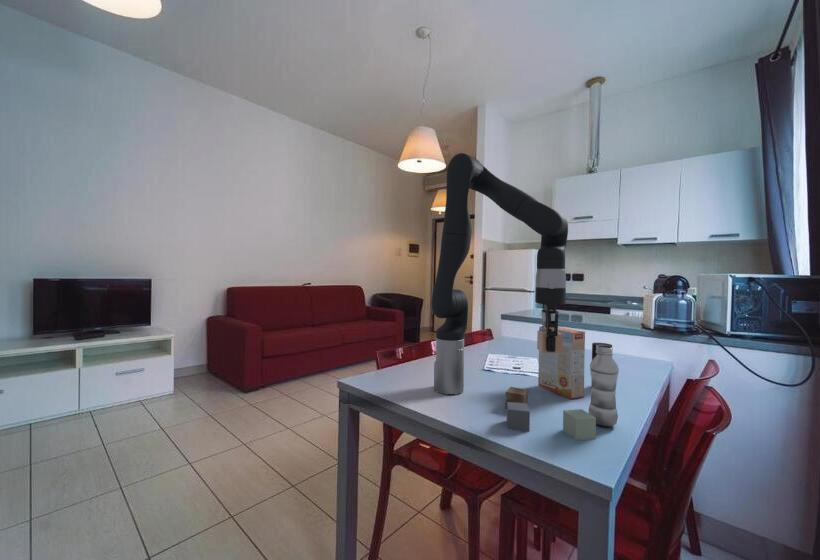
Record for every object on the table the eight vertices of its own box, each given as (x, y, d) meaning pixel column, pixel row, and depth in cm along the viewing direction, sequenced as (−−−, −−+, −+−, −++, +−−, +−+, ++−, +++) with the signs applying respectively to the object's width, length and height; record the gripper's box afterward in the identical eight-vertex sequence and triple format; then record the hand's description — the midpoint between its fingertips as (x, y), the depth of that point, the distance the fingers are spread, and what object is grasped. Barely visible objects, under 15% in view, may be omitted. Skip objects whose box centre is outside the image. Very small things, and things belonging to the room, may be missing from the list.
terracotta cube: (542, 352, 86) (542, 333, 86) (537, 348, 91) (537, 330, 91) (562, 353, 85) (562, 334, 85) (556, 349, 90) (556, 331, 90)
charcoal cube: (508, 429, 81) (508, 409, 81) (506, 420, 86) (507, 401, 86) (529, 431, 80) (529, 411, 80) (526, 422, 85) (527, 403, 85)
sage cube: (576, 440, 76) (576, 419, 76) (563, 430, 81) (563, 410, 81) (595, 439, 76) (596, 417, 76) (581, 429, 81) (581, 409, 81)
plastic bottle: (606, 418, 88) (608, 343, 87) (624, 430, 81) (625, 349, 81) (583, 418, 87) (584, 343, 87) (598, 430, 81) (599, 349, 80)
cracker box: (585, 397, 103) (586, 331, 103) (570, 400, 101) (571, 332, 100) (550, 383, 116) (551, 324, 116) (537, 385, 114) (538, 325, 113)
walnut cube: (505, 409, 93) (505, 391, 93) (510, 403, 98) (510, 386, 98) (523, 413, 91) (524, 395, 91) (527, 407, 95) (527, 389, 95)
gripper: (533, 285, 96) (532, 343, 96) (537, 286, 82) (536, 354, 82) (561, 285, 93) (560, 344, 94) (570, 287, 80) (569, 356, 80)
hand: (549, 348), depth 88 cm, fingers closed on terracotta cube, 5 cm apart
